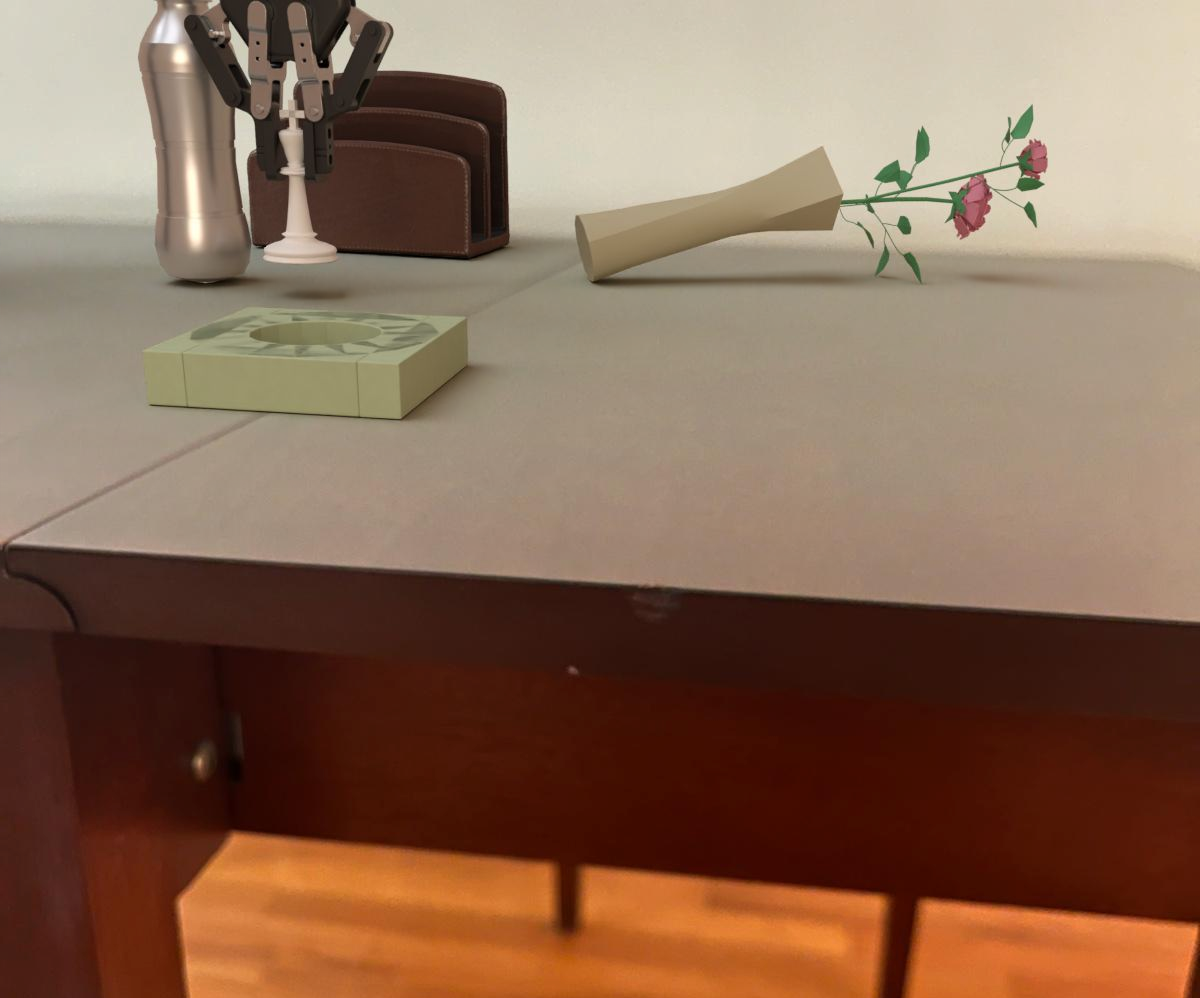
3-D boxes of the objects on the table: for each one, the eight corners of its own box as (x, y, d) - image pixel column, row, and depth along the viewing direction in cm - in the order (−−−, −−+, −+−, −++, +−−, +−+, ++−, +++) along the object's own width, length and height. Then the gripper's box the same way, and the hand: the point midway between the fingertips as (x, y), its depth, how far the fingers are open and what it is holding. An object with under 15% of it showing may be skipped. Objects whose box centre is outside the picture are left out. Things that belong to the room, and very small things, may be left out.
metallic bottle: (138, 283, 93) (103, -32, 85) (204, 271, 98) (177, -25, 91) (210, 291, 90) (181, -33, 83) (274, 278, 96) (252, -26, 88)
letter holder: (306, 235, 120) (295, 68, 115) (511, 246, 116) (510, 72, 110) (250, 247, 112) (236, 67, 106) (470, 260, 107) (467, 72, 101)
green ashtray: (147, 404, 60) (141, 350, 59) (252, 353, 71) (248, 306, 70) (401, 419, 59) (399, 363, 58) (468, 364, 70) (467, 316, 69)
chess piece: (322, 266, 86) (314, 102, 82) (251, 262, 87) (240, 99, 83) (348, 256, 90) (342, 100, 87) (280, 252, 91) (271, 97, 87)
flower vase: (601, 371, 103) (1012, 265, 108) (627, 355, 91) (1089, 236, 95) (563, 221, 102) (981, 120, 106) (584, 185, 90) (1054, 72, 94)
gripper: (144, -128, 78) (171, 181, 84) (372, -124, 76) (381, 190, 82) (199, -111, 85) (220, 172, 91) (409, -108, 83) (415, 181, 89)
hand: (297, 180), depth 87 cm, fingers closed on chess piece
